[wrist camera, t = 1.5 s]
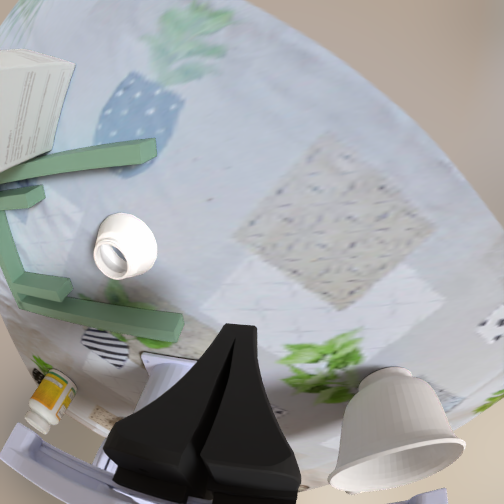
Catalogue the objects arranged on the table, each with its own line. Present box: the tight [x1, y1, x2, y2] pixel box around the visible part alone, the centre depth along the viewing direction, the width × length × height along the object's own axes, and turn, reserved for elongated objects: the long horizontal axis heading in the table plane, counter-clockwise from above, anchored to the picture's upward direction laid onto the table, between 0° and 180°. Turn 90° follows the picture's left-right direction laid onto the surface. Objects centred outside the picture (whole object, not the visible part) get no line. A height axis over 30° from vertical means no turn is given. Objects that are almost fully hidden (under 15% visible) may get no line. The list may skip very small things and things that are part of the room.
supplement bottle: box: [25, 369, 77, 434], centre depth 31 cm, size 5×5×10 cm
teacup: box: [328, 367, 466, 495], centre depth 22 cm, size 12×15×10 cm
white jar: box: [94, 212, 157, 280], centre depth 20 cm, size 5×3×5 cm
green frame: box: [0, 138, 184, 343], centre depth 19 cm, size 15×20×8 cm
